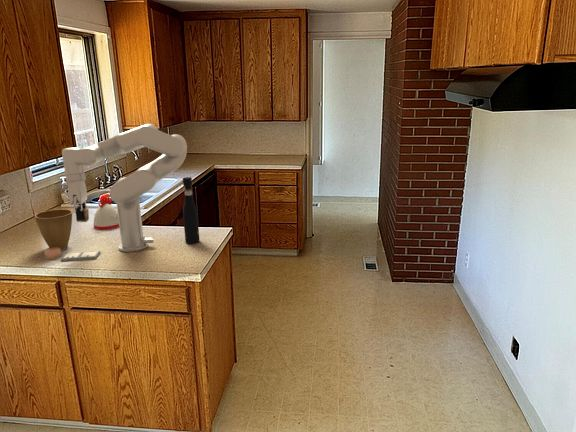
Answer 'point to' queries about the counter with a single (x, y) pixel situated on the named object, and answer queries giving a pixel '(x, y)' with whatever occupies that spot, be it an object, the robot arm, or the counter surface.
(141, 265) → the counter surface
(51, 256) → the tan round lump
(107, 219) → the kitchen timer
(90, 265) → the counter surface
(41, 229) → the plant pot
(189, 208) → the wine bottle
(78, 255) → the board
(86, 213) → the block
